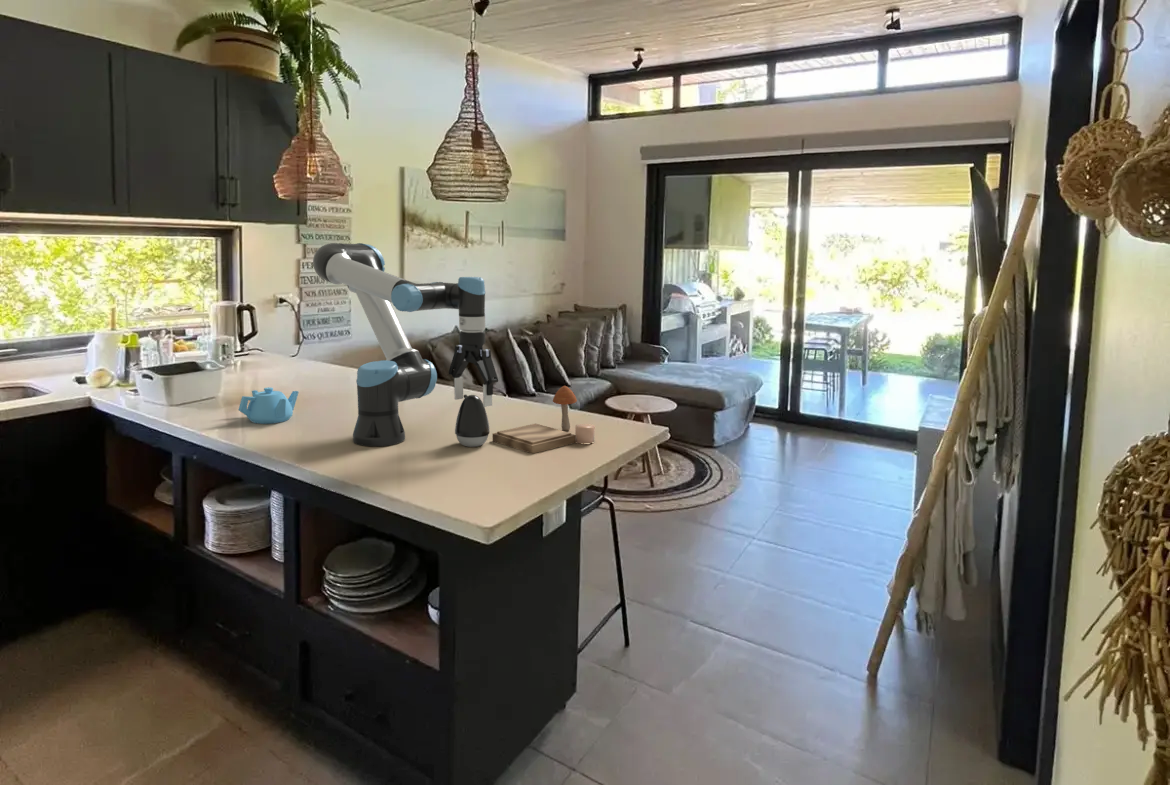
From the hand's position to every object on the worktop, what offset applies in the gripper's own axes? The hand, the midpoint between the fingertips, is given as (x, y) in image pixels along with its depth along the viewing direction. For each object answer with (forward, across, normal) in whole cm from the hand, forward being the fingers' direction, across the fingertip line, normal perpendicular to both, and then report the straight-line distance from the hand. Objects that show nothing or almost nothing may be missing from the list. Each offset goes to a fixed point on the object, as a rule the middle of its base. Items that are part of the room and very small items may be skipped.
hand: (473, 402), depth 213 cm
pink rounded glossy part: (+13, +20, +28) cm, 37 cm away
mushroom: (+13, +6, +33) cm, 36 cm away
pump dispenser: (+13, 0, 0) cm, 13 cm away
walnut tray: (+13, +10, +16) cm, 23 cm away
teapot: (+12, -68, -31) cm, 75 cm away
